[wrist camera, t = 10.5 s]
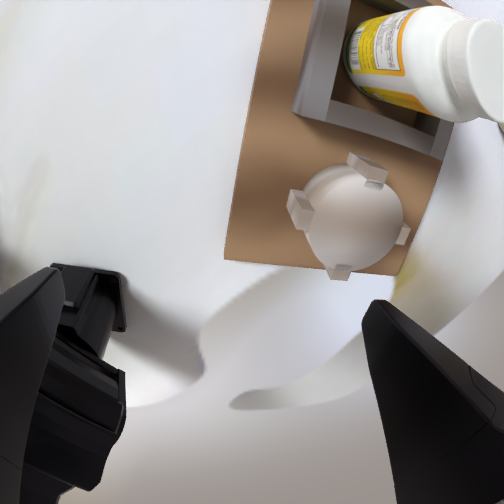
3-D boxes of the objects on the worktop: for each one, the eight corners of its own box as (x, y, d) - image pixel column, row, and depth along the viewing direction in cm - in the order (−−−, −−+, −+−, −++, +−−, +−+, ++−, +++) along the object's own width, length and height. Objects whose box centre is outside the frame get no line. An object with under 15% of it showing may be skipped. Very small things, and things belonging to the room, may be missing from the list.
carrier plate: (390, 269, 23) (411, 299, 20) (224, 251, 21) (224, 287, 18) (463, 22, 12) (499, 22, 9) (284, -58, 10) (298, -86, 6)
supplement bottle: (322, 41, 13) (425, 15, 5) (389, 10, 12) (506, -10, 4) (369, 116, 16) (481, 165, 7) (428, 81, 14) (546, 112, 6)
